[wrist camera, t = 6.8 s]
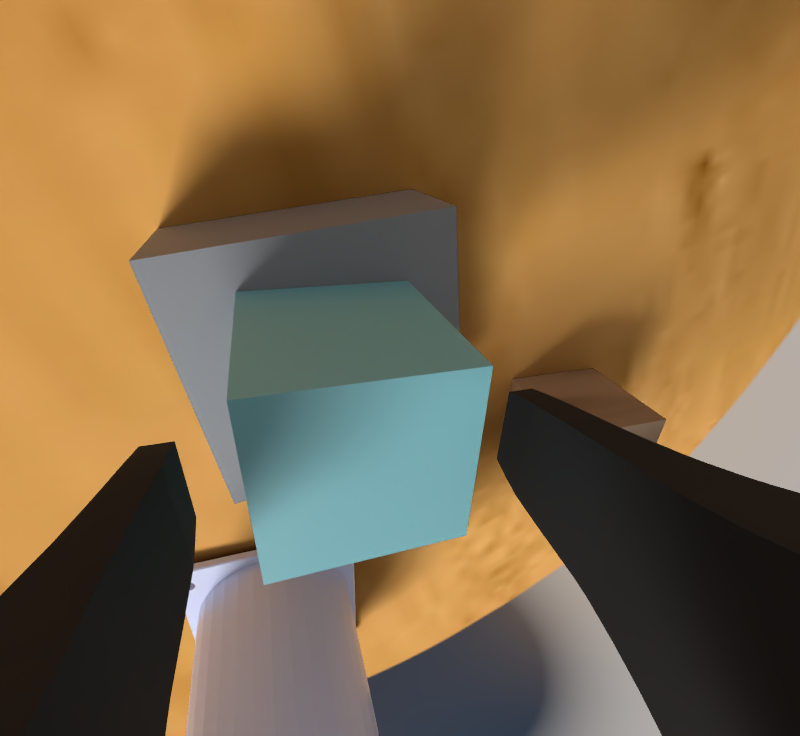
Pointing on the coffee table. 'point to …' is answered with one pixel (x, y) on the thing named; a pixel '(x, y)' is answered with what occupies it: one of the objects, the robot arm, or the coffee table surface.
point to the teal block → (352, 423)
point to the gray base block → (283, 280)
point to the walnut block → (597, 399)
